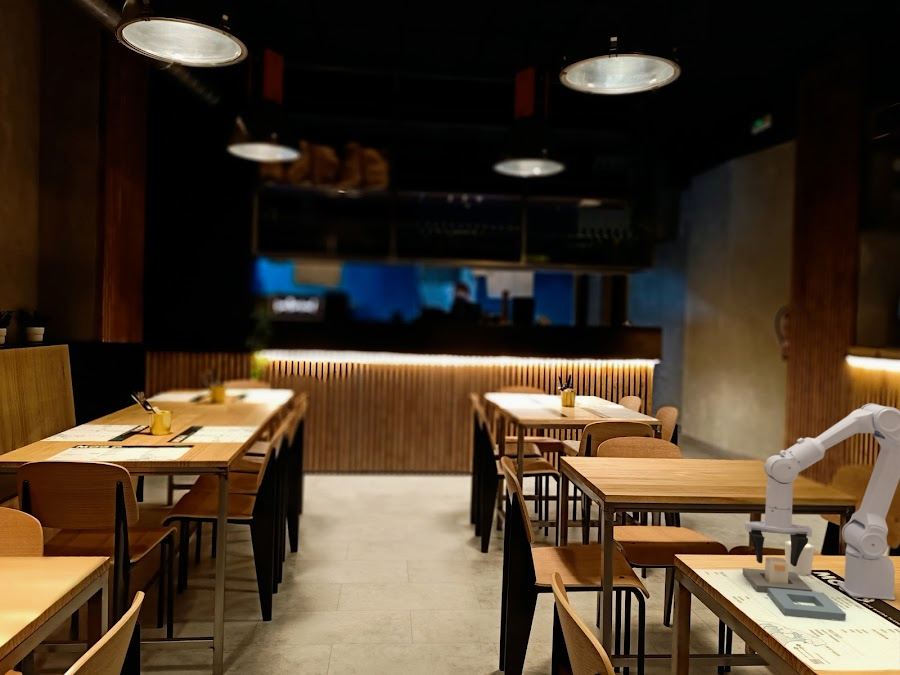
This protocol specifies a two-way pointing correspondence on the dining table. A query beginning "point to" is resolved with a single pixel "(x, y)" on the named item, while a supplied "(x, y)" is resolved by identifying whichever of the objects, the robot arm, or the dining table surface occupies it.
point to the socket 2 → (821, 611)
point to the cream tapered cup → (800, 559)
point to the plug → (776, 570)
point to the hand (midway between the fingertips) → (776, 563)
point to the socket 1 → (760, 584)
